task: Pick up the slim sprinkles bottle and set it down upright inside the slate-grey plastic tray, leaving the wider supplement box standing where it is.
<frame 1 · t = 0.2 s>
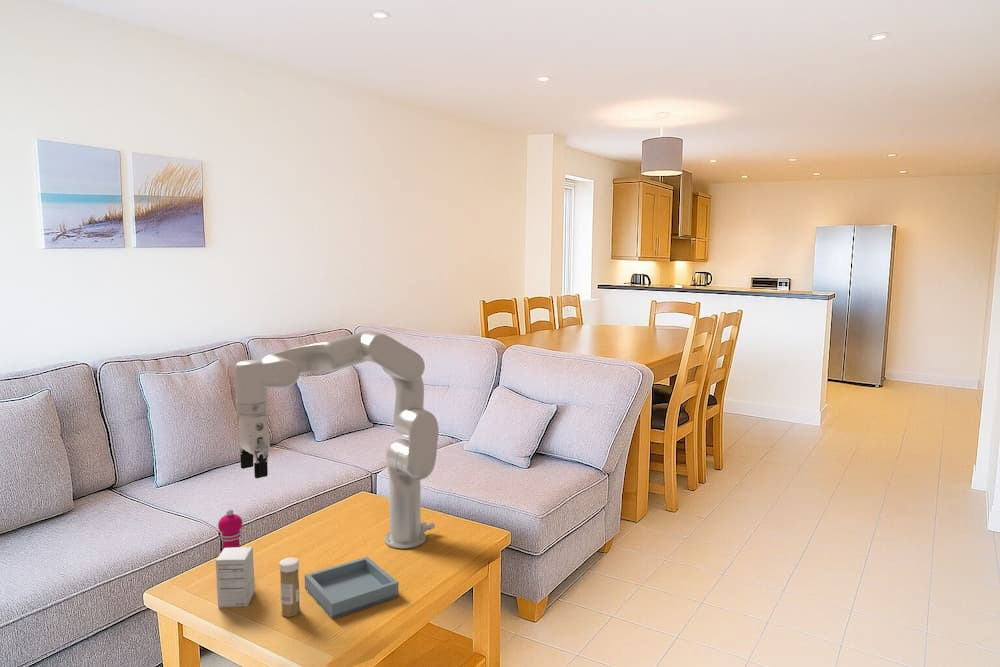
hand: (254, 472, 174), 31 cm above the table, tool pointing down, fingers open, 9 cm apart
sprinkles bottle: (290, 613, 164), on the table
pepper mill: (232, 581, 180), on the table
supplement box: (236, 600, 170), on the table
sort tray: (351, 593, 174), on the table
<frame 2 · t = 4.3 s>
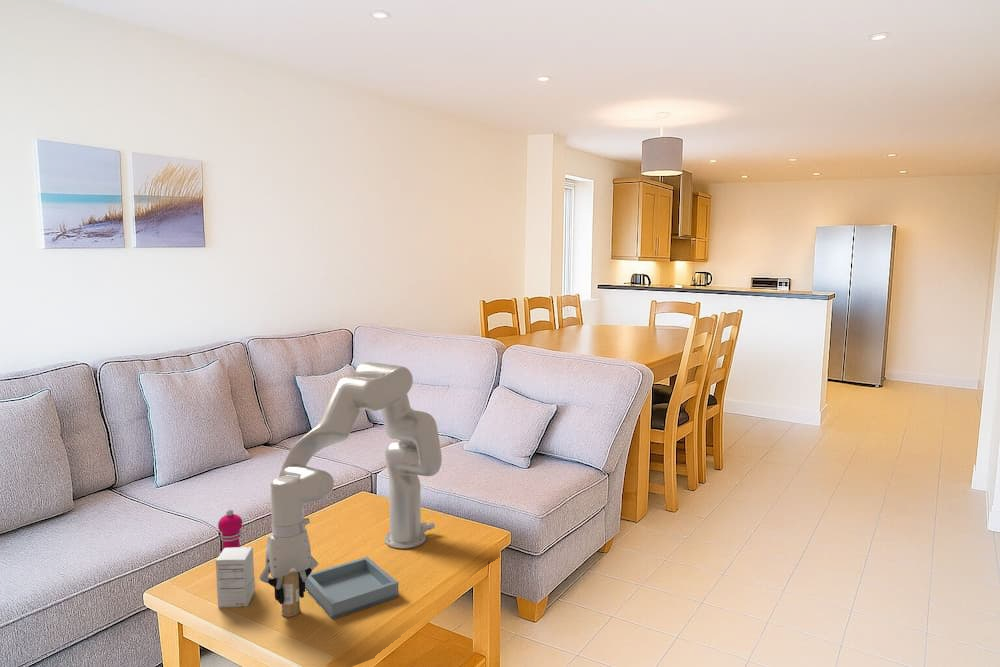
hand: (290, 597, 164), 4 cm above the table, tool pointing down, fingers closed on sprinkles bottle, 4 cm apart
sprinkles bottle: (290, 613, 164), on the table, touching gripper
everything else where it was.
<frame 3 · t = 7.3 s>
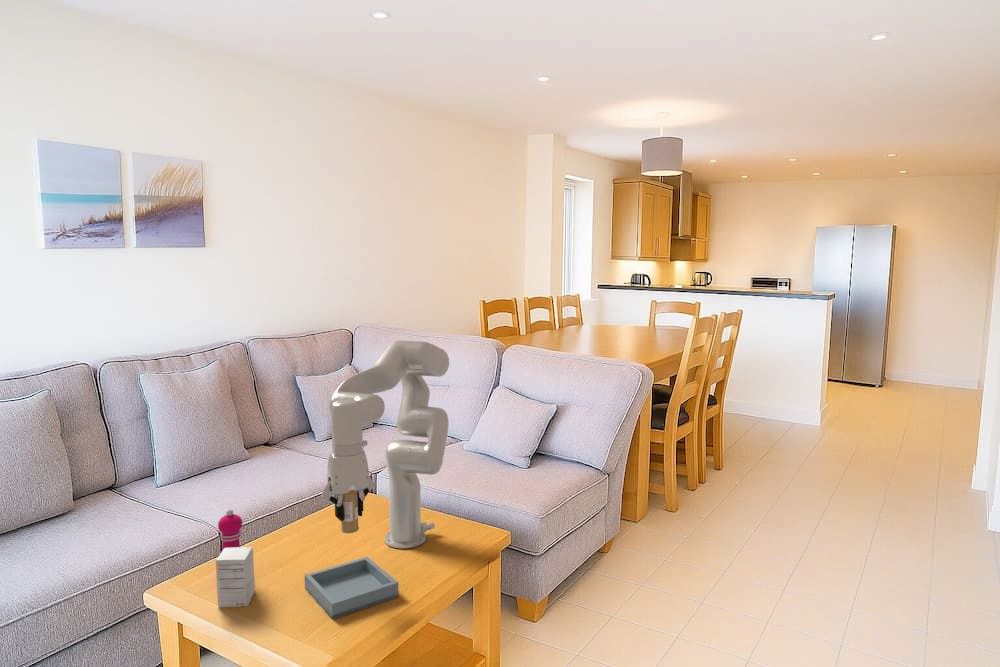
hand: (349, 516, 171), 21 cm above the table, tool pointing down, fingers closed on sprinkles bottle, 4 cm apart
sprinkles bottle: (349, 531, 172), point 17 cm above the table, touching gripper
everything else where it was.
when the fingers open (7 cm above the table, at t = 10.8 s): sprinkles bottle drops 2 cm, resting on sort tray.
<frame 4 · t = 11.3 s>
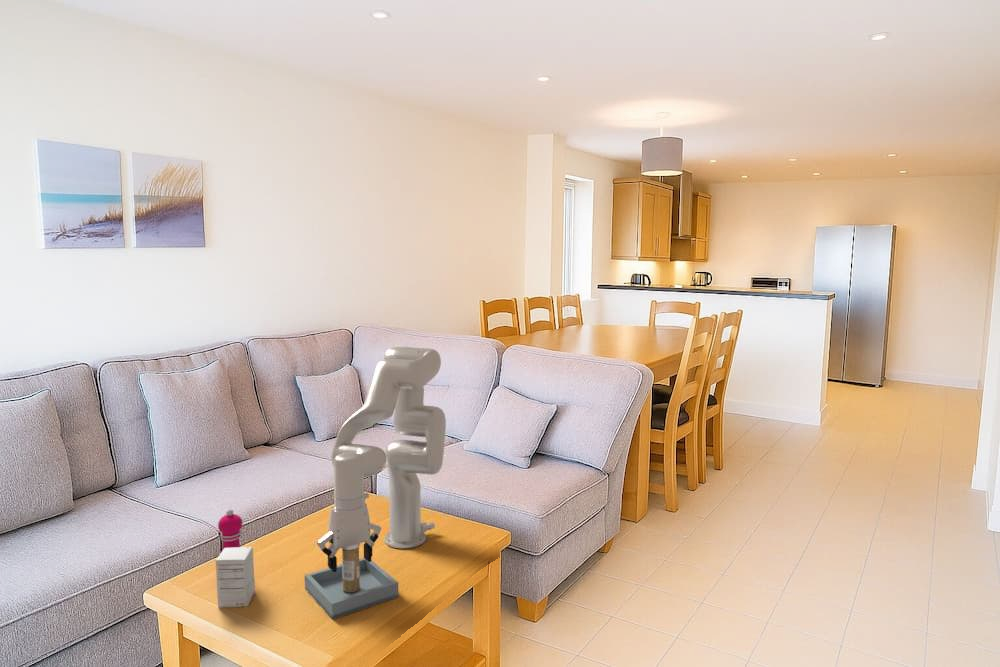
hand: (350, 564, 173), 8 cm above the table, tool pointing down, fingers open, 9 cm apart
sprinkles bottle: (351, 589, 174), point 1 cm above the table, touching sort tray
everything else where it was.
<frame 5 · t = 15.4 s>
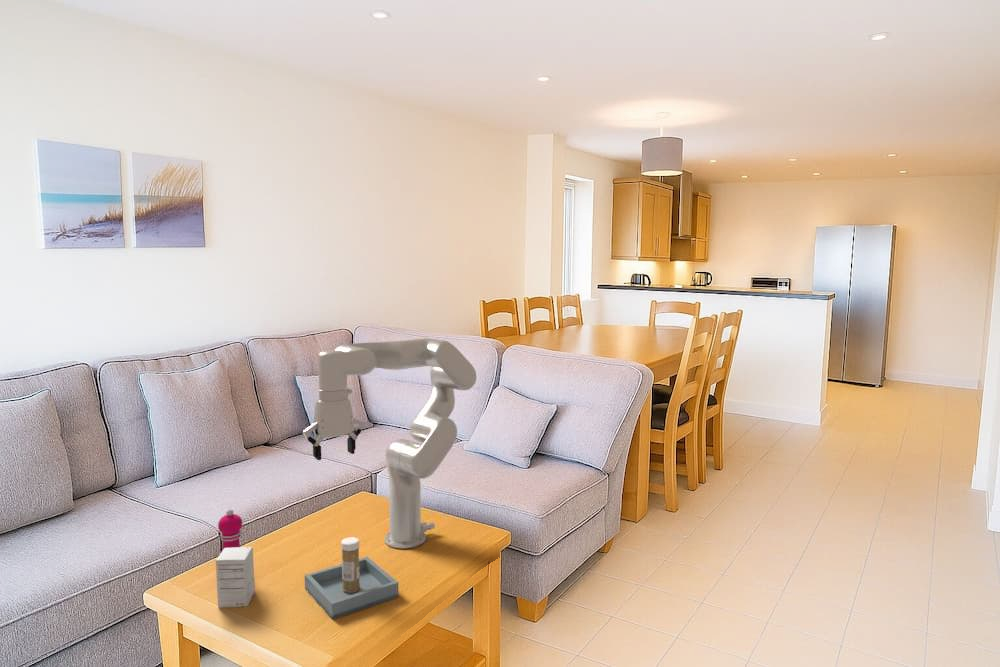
hand: (334, 455, 184), 32 cm above the table, tool pointing down, fingers open, 9 cm apart
nothing on the table moved.
at the end: sprinkles bottle inside the target area on the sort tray (0.1 cm from its centre), point 0.8 cm above the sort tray's base; sprinkles bottle tilted 0°; the gripper is holding nothing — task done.
